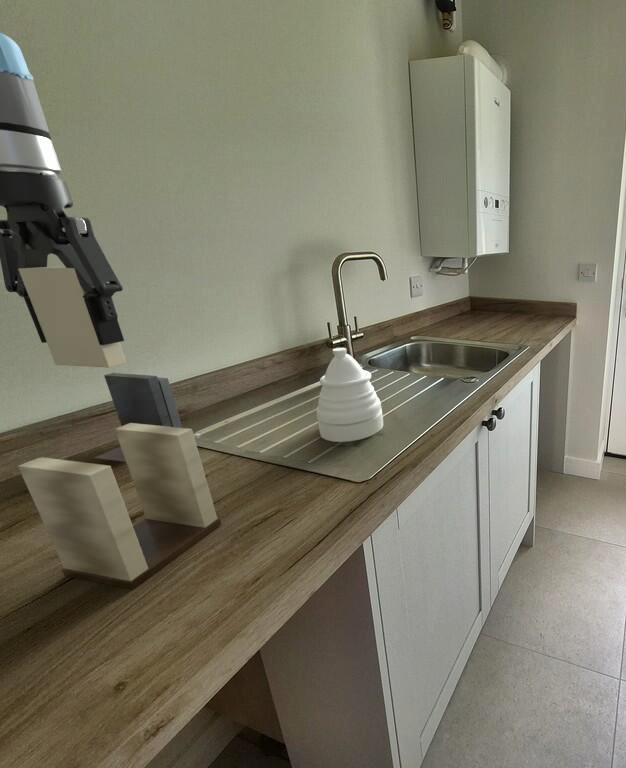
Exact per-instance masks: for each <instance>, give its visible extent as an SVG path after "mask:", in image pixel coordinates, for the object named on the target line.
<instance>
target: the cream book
mask: <svg viewBox="0 0 626 768" xmlns="http://www.w3.org/2000/svg"><path fill="white" fill-rule="evenodd" d="M18 269H19V272H20V275H21V277H22V280H23V282H24V285H25V288H26V290H27V293H28V295H29V298H30V300H31V303H32V305H33V308H34V311H35V313H36V316H37V318H38V321H39V323H40V326H41V329H42V331H43V334H44V336H45V339H46V341H47V343H46V344H47V346H48V349H49V352H50V354H51V357H52V359H53V362H54V364H55V366H69V367H86V368H87V367H90V368H107V369H108V368H109V369H110V368H114V367H117V366H121V365H125V364H127V360H126V356H125V353H124V351H123V347H122V345H121V342H117V343H112V344H107V345H100V344H99V341H98V338H97V336H96V333H95V330H94V327H93V324H92V321H91V318H90V315H89V313H88V310H87V307H86V304H85V301H84V299H85V298H83V297H82V296H83V295H84V294H85V293H86V292H85V291H84V289H83V288H82V287H81V286H80V283H79V281H78V278H77V275H76V272H75V269H74V268H66V267H65V266H47V267H36V268H18ZM93 287H94V288H95V286H93Z"/></svg>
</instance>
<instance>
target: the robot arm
mask: <svg viewBox="0 0 626 768" xmlns="http://www.w3.org/2000/svg"><path fill="white" fill-rule="evenodd" d="M37 91H38V90H37V89H36V84H35V82H34V76H33V75H32V74H31V73H30V70H29V68H28V65H27V62H26V60H25V57H24V55H23V52H22V50H21V48H20V46H19V45H18V43H16V41H14V39H12V38H11V37H9V36H8V35H6V34H4V33H3V32H0V207H3V208H4V209H5V210H6V219H2V218H1V219H0V266H1V271H2V277H3V282H4V287H5V289H6V291H7V292H8V293H17V295H18V296H19V297H21V298H23V299H24V302H25V304H26V308H27V309H28V312H29V314H30V316H31V319H32V322H33V324H34V327H35V330H36V331H37V335H38V337H39V339H40V343H42V344H47V341H46V339H45V336H44V334H43V331H42V329H41V326H40V323H39V321H38V318H37V316H36V313H35V311H34V308H33V305H32V303H31V300H30V298H29V295H28V293H27V290H26V288H25V285H24V282H23V280H22V277H21V275H20V272H19V269H18V268H36V267H48V257H49V255H50V254H52V255H55V256H56V257H57V258H58V260H60V261H61V263H62V264H63V266H64V267H66V268H74V269H75V272H76V275H77V278H78V281H79V283H80V286H81V287H82V288H83V289H84V291H85V292H86V293H85V294H84V295H83V296H82V297H83V298H85V299H84V301H85V304H86V307H87V310H88V313H89V315H90V318H91V321H92V324H93V327H94V330H95V333H96V336H97V338H98V341H99V344H100V345H107V344H112V343H117V342H120V343H121V342H125V338H124V335H123V333H122V329H121V326H120V323H119V321H118V313H117V309H116V306H115V303H114V300H113V296H114V295H115V294H116V293H118V292H122V291H123V289H124V288H123V285H122V283H121V281H120V280H119V277H118V275H117V273H116V272H115V270H114V268H113V267H112V264H111V263H110V261H109V259H108V257H107V256H106V254H105V252H104V251H103V250H104V249H103V248H102V246H101V245H100V243H99V241H98V239H97V237H96V235H95V232H94V228H93V224H92V221H91V219H89V218H88V217H75V216H69V214H68V212H67V211H66V209H70V208H71V209H72V208H73V206H74V201H73V199H72V196H71V193H70V189H69V187H68V184H67V181H66V180H64V178H62V177H59V176H58V175H60V174H62V172H63V170H62V168H61V165H60V162H59V158H58V155H57V153H56V150H55V147H54V144H53V141H52V138H51V134H50V133H51V132H50V129H49V126H48V124H47V121H46V117H45V113H44V110H43V107H42V104H41V102H40V98H39V95H38V92H37ZM93 286H95V288H94V287H93Z"/></svg>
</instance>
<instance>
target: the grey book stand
mask: <svg viewBox="0 0 626 768" xmlns="http://www.w3.org/2000/svg"><path fill="white" fill-rule="evenodd" d="M103 377H104V379H105V382H106V385H107V388H108V391H109V394H110V396H111V397H110V398H111V400H112V402H113V406H114V408H115V411H116V414H117V416H118V420H119V423H120V425H121V426H124V425H126V424H129V423H136V424H146V425H156V426H167V427H177V428H183V425H182V422H181V418H180V416H179V412H178V408H177V405H176V401H175V398H174V394H173V391H172V388H171V384H170V380H169V378H168V377H158V376H157V375H148V374H136V373H135V374H134V373H122V372H120V373H119V372H112V373H107V374H104V375H103ZM121 426H120V427H121ZM93 459H97V460H106V461H115V462H121V463H122V462H123V463H126V460H125V457H124V455H123V452H122V449H121V446H120V445H119V446H118V447H115V448H113V449H110V450H108V451H106V452H104V453H102V454H98V455H96V456H94V457H93Z"/></svg>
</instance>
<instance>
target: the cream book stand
mask: <svg viewBox="0 0 626 768" xmlns="http://www.w3.org/2000/svg"><path fill="white" fill-rule="evenodd" d="M114 433H115V435H116V438H117V440H118V443H119V447H120V446H121V449H122V452H123V455H124V457H125V460H126V462H125V463H126V466H127V468H128V471H129V474H130V478H131V480H132V483H133V485H134V489H135V491H136V494H137V497H138V500H139V503H140V505H141V509H142V512H143V514H144V516H145V517H144V519H142V520H141V521H139V522H137V523H136V524H134V525H133V523H132V520H131V518H130V515H129V512H128V510H127V506H126V504H125V501H124V499H123V496H122V493H121V491H120V488H119V485H118V482H117V480H116V477H115V475H114V472H113V469H112V466H111V465H107V464H99V463H92V462H91V463H90V462H83V461H76V460H67V459H66V460H65V459H58V458H50V457H44V456H39V457H38V458H35V459H32V460H30V461H26V462H24V463H22V464H19V465H17V468H18V470H19V472H20V474H21V477H22V479H23V481H24V483H25V485H26V488H27V490H28V492H29V494H30V496H31V499H32V500H33V503H34V505H35V507H36V510H37V512H38V514H39V516H40V518H41V520H42V523H43V525H44V527H45V529H46V531H47V534H48V536H49V538H50V540H51V543H52V545H53V547H54V549H55V551H56V554H57V556H58V558H59V560H60V563H61V564H62V567H63V568H62V569H61V571H62V574H63V576H64V577H68V578H72V579H78V580H83V581H89V582H94V583H99V584H104V585H108V586H113V587H119V588H124V589H130V590H135V589H137V588H138V587H139V586H141V585H142V584H143V583H144V582H146V581H147V580H149V579H150V578H151V577H153V576H154V575H155V574H156V573H158V572H159V571H160V570H162V569H163V568H165V567H166V566H167V565H169V564H170V563H172V562H173V561H174V560H175V559H177V558H178V557H180V556H181V555H182V554H184V553H185V552H186V551H187V550H188V551H189V549H190V548H191V547H193V546H194V545H196V544H198V542H200V541H201V540H203V539H205V537H206V536H208V535H209V534H211V533H213V531H215V530H216V529H217V528H218V527H220V526H221V525H222V522H221V518H218V516H217V512H216V509H215V506H214V502H213V498H212V494H211V492H210V488H209V485H208V480H207V477H206V474H205V471H204V470H205V469H204V466H203V463H202V460H201V457H200V453H199V450H198V446H197V442H196V439H195V435H194V431H193V429H192V428H187V427H186V428H185V427H182V428H177V427H167V426H156V425H146V424H136V423H129V424H126V425H124V426H118V427H116V428H114Z"/></svg>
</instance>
